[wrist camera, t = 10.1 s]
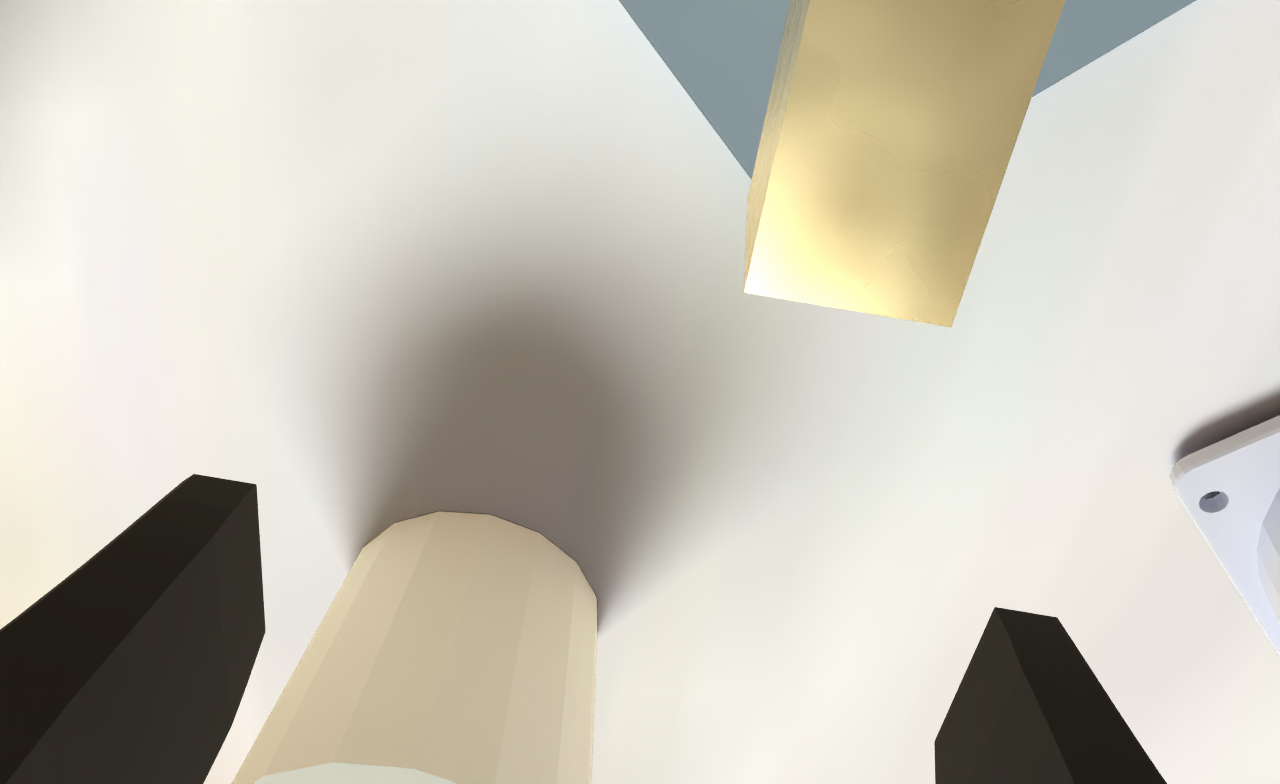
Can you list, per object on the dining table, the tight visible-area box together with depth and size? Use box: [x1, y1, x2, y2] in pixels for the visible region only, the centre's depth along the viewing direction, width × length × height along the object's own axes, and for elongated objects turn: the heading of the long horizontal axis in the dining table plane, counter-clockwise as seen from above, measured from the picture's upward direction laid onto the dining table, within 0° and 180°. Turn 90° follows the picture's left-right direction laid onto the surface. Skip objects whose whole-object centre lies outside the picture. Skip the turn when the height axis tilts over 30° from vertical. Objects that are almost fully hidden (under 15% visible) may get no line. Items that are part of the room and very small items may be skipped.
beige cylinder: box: [232, 511, 597, 784], centre depth 24 cm, size 7×7×7 cm
